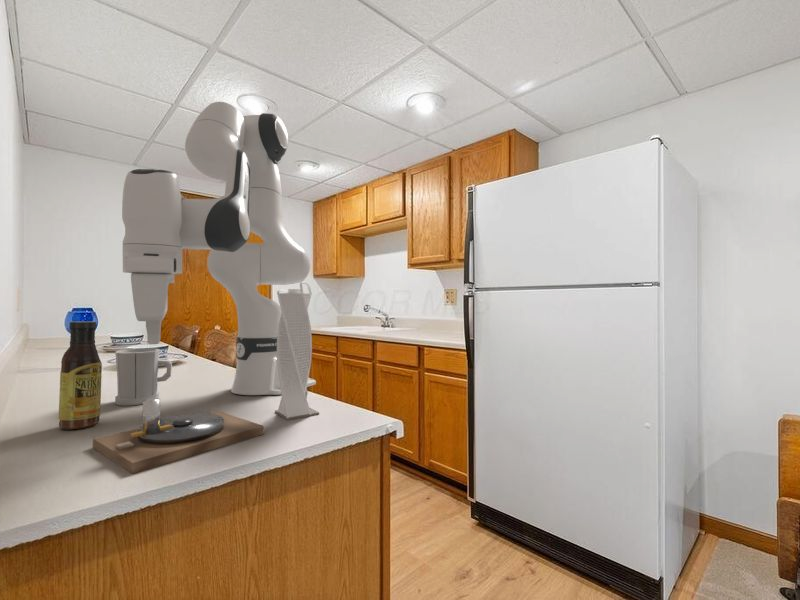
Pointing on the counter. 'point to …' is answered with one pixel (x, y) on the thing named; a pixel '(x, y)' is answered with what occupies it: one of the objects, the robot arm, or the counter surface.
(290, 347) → the skyscraper
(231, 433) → the stand
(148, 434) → the dial
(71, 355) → the sauce bottle
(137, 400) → the cup
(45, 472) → the counter surface
